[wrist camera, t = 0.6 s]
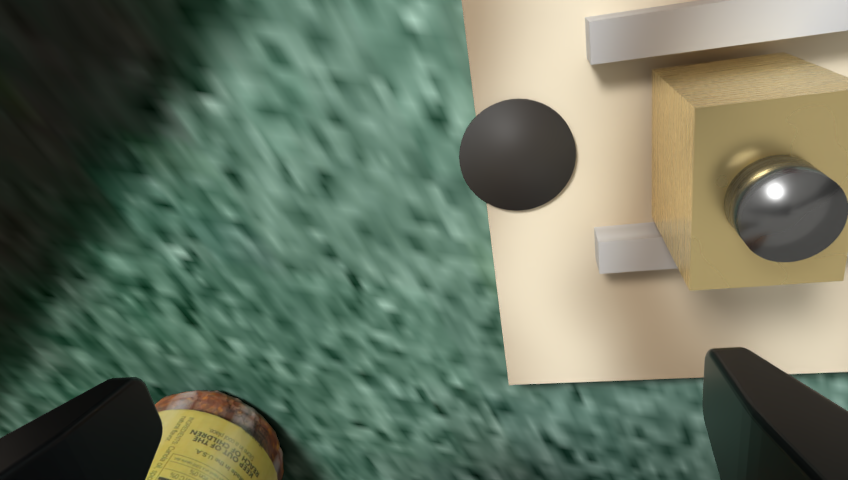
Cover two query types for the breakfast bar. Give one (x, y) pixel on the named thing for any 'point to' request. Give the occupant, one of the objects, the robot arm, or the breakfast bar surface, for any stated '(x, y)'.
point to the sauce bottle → (214, 440)
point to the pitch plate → (622, 187)
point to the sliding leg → (751, 171)
